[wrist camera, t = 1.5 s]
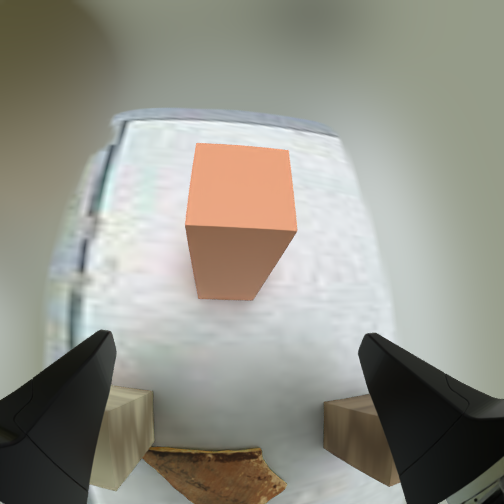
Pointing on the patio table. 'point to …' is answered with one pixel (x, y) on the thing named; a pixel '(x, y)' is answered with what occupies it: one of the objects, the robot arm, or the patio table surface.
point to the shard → (217, 475)
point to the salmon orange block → (238, 218)
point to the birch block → (122, 436)
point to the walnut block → (359, 438)
